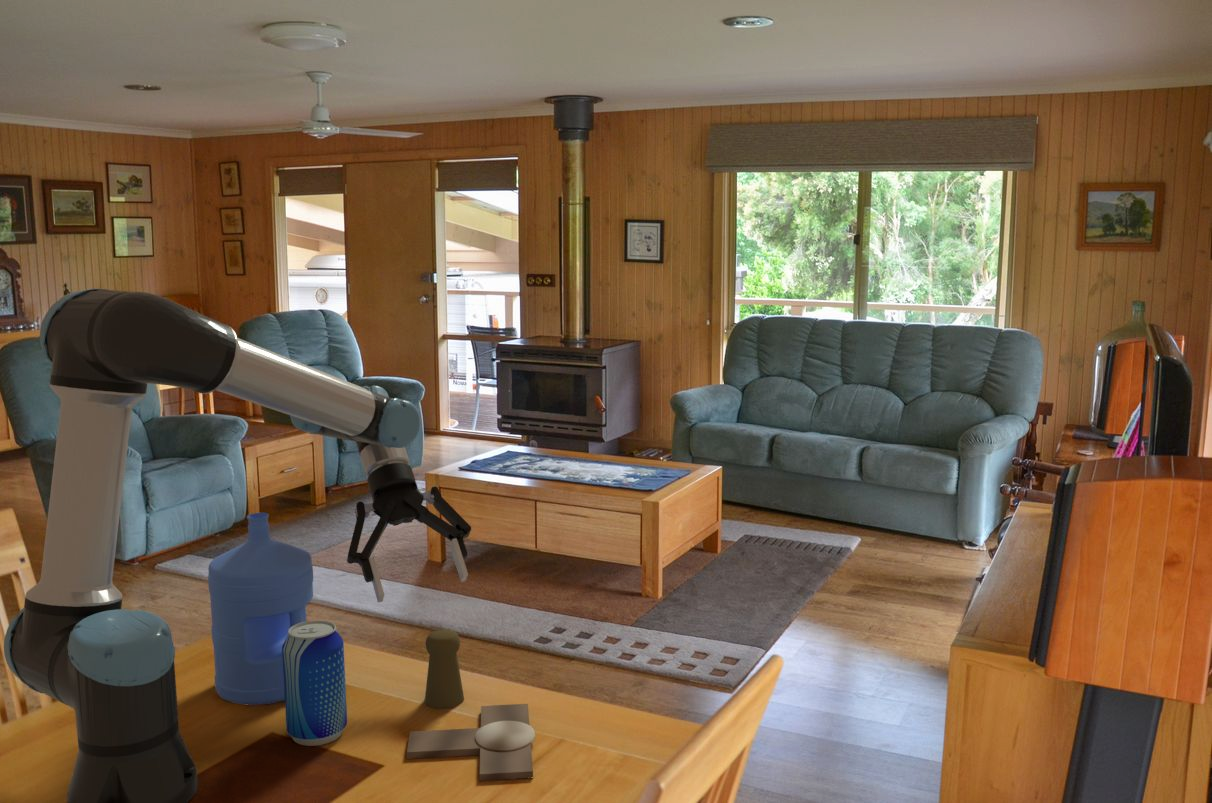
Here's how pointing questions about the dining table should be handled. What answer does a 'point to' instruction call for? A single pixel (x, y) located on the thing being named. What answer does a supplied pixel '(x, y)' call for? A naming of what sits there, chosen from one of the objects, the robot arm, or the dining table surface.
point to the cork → (443, 670)
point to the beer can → (314, 683)
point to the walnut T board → (484, 743)
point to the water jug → (256, 613)
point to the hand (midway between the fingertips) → (423, 588)
